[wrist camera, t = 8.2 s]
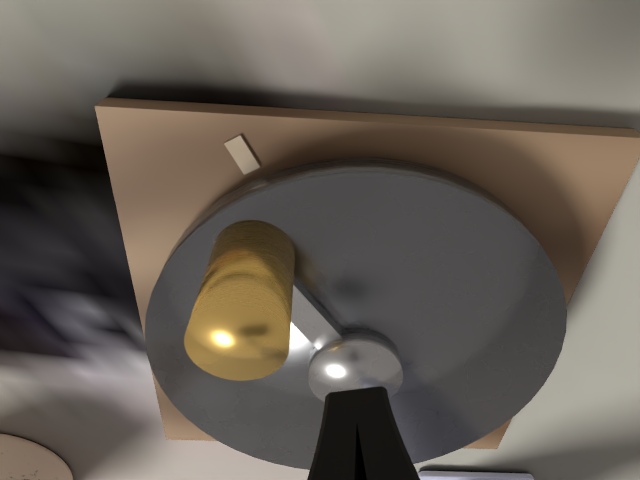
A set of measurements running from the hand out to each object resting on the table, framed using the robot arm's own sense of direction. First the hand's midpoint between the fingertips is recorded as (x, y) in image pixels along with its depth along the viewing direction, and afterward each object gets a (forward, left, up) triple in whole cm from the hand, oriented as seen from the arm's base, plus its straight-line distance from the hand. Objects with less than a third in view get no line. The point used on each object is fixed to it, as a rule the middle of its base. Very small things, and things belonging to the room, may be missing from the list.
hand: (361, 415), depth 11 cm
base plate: (-6, -1, -10) cm, 12 cm away
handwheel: (-6, -1, -9) cm, 11 cm away
